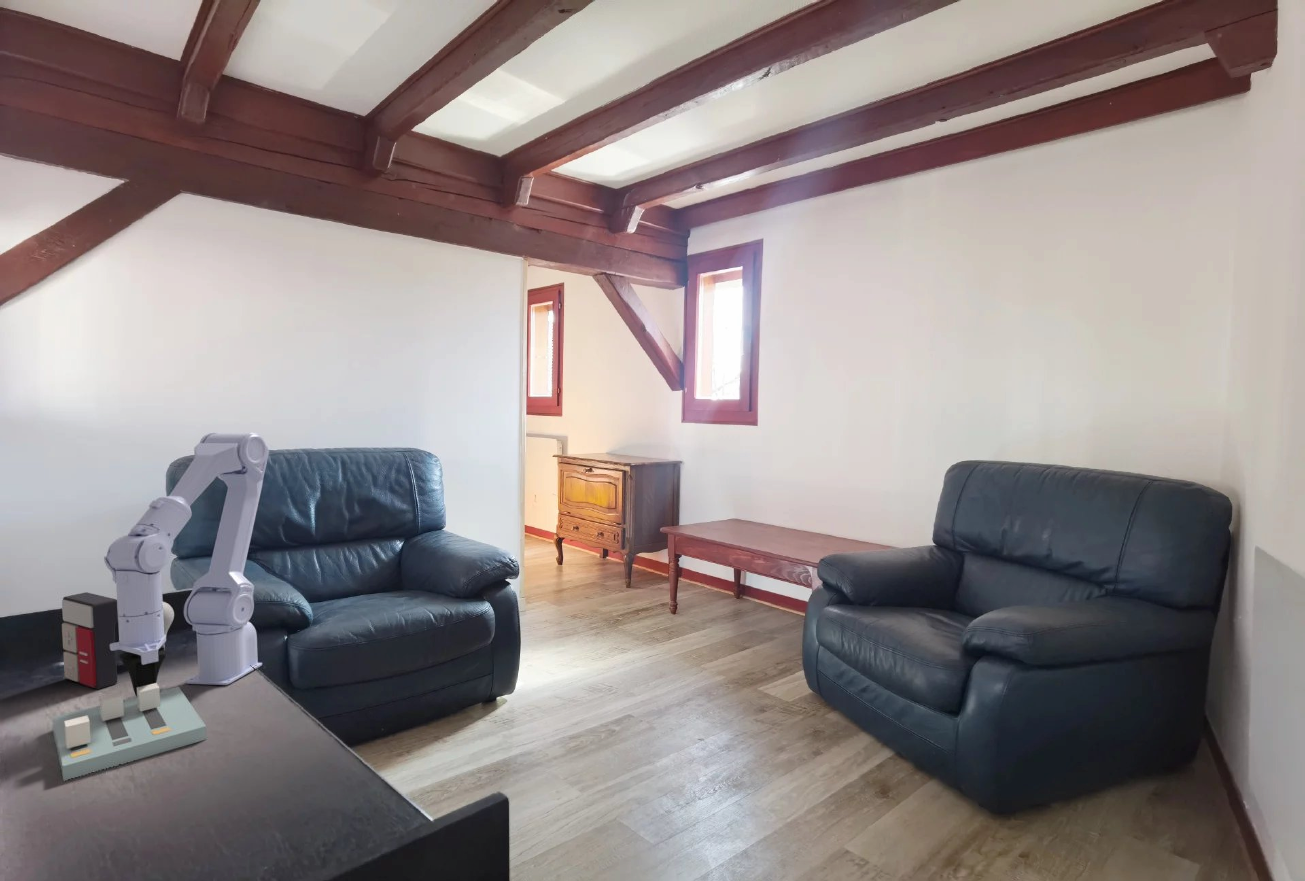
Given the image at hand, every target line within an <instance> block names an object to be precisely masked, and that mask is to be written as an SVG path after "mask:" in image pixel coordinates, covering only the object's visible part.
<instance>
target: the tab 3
mask: <svg viewBox="0 0 1305 881" xmlns="http://www.w3.org/2000/svg"><path fill="white" fill-rule="evenodd" d="M159 691H160V686H159V685H158V683H157V682H156V683H154V684H150V685H145V686H141V687H137V703H138V708H139V710H140V712H141V711H144V710H148V709H152V708H156V707H160V693H159Z"/></svg>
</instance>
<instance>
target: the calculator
mask: <svg viewBox="0 0 1305 881" xmlns="http://www.w3.org/2000/svg"><path fill="white" fill-rule="evenodd" d="M61 610H62V620H63V622H62V623H61V633H62V634H61V635H62V648H63V650H65V651H63V652H62V653H63V666H64V667H63V669H64V671H63V672H64V678H65V679H67V680H70V681H74V682H76V683H78V684H82V685H85V686H87V687H91V688H94V689H96V690H100V689H102V688H106V687H110V686H113V685H116V684H117V683H118V670H117V668H118V667H117V666H118V665H117V653H116V651H117V650H114V651H112V650H110V644H111V643H116V631H115V629H116V628H115V626H116V624H117V623H118V607H117V598H113V597H109V596H104V595H98V594H95V593H91V592H85V591H84V592H81V593H76V594H72V595H65V596H63V597H62V600H61Z"/></svg>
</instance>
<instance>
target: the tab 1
mask: <svg viewBox="0 0 1305 881" xmlns="http://www.w3.org/2000/svg"><path fill="white" fill-rule="evenodd" d="M64 724H65V742H66V746H67V749H68V748H71V747H75V746H79V745H83V744H86V743H90V742H91V740H90V722H89V718H88V715H87V716H83V717H79V718H75V719H71V720H67V721H64Z"/></svg>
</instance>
